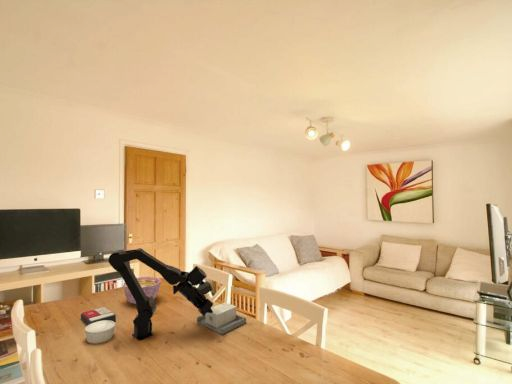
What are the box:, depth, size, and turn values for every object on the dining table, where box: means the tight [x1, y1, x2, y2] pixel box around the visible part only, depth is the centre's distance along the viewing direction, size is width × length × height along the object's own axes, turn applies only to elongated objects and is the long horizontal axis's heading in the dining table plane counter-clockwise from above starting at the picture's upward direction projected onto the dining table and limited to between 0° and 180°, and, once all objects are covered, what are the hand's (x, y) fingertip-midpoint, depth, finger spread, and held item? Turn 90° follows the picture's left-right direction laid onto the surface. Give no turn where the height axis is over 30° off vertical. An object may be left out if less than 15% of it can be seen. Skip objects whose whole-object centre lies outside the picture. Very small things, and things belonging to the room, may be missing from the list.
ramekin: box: [84, 320, 116, 345], centre depth 118 cm, size 11×11×5 cm
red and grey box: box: [80, 306, 117, 327], centre depth 134 cm, size 11×4×15 cm
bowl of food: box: [122, 276, 162, 305], centre depth 158 cm, size 20×20×12 cm
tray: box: [196, 313, 247, 336], centre depth 134 cm, size 15×18×2 cm
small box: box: [205, 301, 237, 328], centre depth 134 cm, size 8×6×13 cm
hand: (211, 312), depth 129 cm, fingers closed, pressing on small box
